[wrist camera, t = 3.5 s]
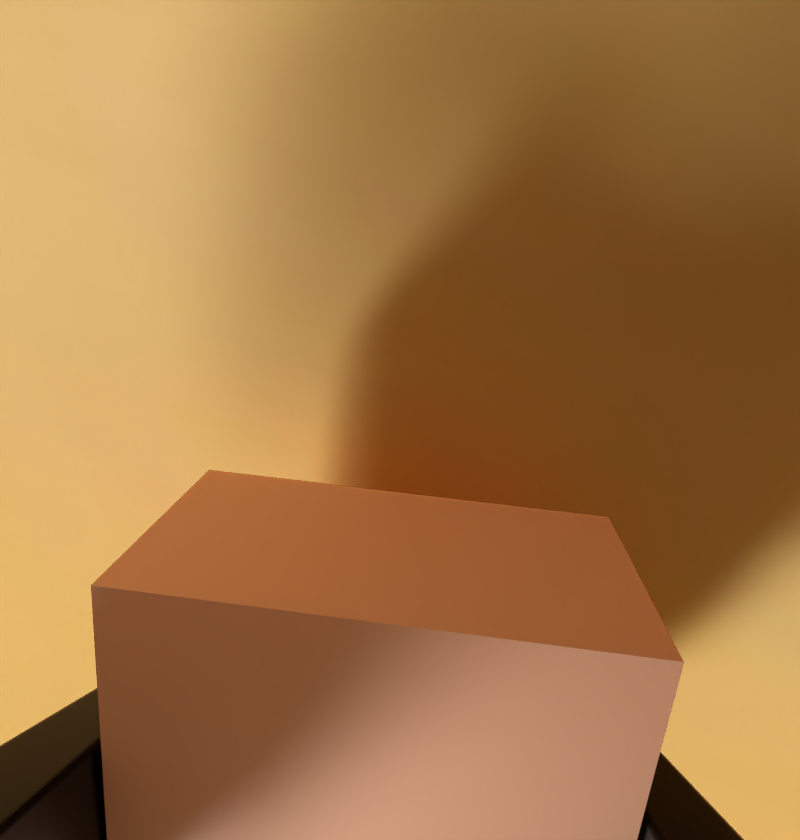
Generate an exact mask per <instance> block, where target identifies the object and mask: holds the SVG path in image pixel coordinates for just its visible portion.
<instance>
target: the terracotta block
mask: <svg viewBox="0 0 800 840" xmlns="http://www.w3.org/2000/svg"><path fill="white" fill-rule="evenodd" d="M91 593H92V609H93V625H94V641H95V657H96V673H97V689H98V705H99V721H100V737H101V753H102V769H103V785H104V801H105V817H106V833H107V840H637V839H638V835H639V831H640V827H641V823H642V819H643V816H644V812H645V808H646V804H647V800H648V797H649V793H650V789H651V785H652V781H653V777H654V774H655V770H656V766H657V762H658V758H659V755H660V751H661V747H662V743H663V739H664V735H665V732H666V728H667V724H668V720H669V716H670V713H671V709H672V705H673V701H674V697H675V694H676V690H677V686H678V682H679V678H680V674H681V671H682V667H683V663H684V662H683V660H682V658H681V656H680V654H679V652H678V650H677V648H676V646H675V644H674V642H673V640H672V638H671V637H670V635H669V633H668V631H667V629H666V627H665V625H664V623H663V621H662V619H661V617H660V615H659V613H658V611H657V609H656V608H655V606H654V604H653V602H652V600H651V598H650V596H649V594H648V592H647V590H646V588H645V586H644V584H643V582H642V580H641V579H640V577H639V575H638V573H637V571H636V569H635V567H634V565H633V563H632V561H631V559H630V557H629V555H628V553H627V551H626V549H625V548H624V546H623V544H622V542H621V540H620V538H619V536H618V534H617V532H616V530H615V528H614V526H613V524H612V522H611V520H610V519H609V517H605V516H597V515H588V514H580V513H571V512H563V511H554V510H546V509H537V508H529V507H520V506H512V505H503V504H495V503H486V502H478V501H469V500H461V499H452V498H444V497H435V496H427V495H418V494H410V493H401V492H392V491H384V490H375V489H367V488H358V487H350V486H341V485H333V484H324V483H316V482H307V481H299V480H290V479H282V478H273V477H265V476H256V475H248V474H239V473H231V472H222V471H214V470H209V471H208V472H206V473H205V474H204V475H203V476H202V477H201V478H200V479H199V480H198V481H197V482H196V483H195V484H194V485H193V486H192V487H191V488H190V489H189V490H188V491H187V492H186V493H185V494H184V495H183V496H182V497H181V498H180V499H179V500H178V501H177V502H176V503H175V504H174V505H173V506H172V507H171V508H170V509H169V510H168V511H167V512H166V513H165V514H164V515H162V516H161V517H160V518H159V519H158V520H157V521H156V522H155V523H154V524H153V525H152V526H151V527H150V528H149V529H148V530H147V531H146V532H145V533H144V534H143V535H142V536H141V537H140V538H139V539H138V540H137V541H136V542H135V543H134V544H133V545H132V546H131V547H130V548H129V549H128V550H127V551H126V552H125V553H124V554H123V555H122V556H121V557H120V558H118V559H117V560H116V561H115V562H114V563H113V564H112V565H111V566H110V567H109V568H108V569H107V570H106V571H105V572H104V573H103V574H102V575H101V576H100V577H99V578H98V579H97V580H96V581H95V582H94V583H93V584H92V585H91Z"/></svg>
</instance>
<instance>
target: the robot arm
mask: <svg viewBox="0 0 800 840" xmlns="http://www.w3.org/2000/svg"><path fill="white" fill-rule="evenodd" d="M0 840H107V833H106V817H105V801H104V785H103V769H102V753H101V737H100V721H99V705H98V689H97V688H96V689H95V690H93V691H91V692H90V693H88V694H86V695H85V696H83V697H81V698H80V699H78V700H76V701H75V702H73V703H71V704H69V705H68V706H66V707H64V708H63V709H61V710H59V711H58V712H56V713H54V714H53V715H51V716H49V717H48V718H46V719H44V720H43V721H41V722H39V723H38V724H36V725H34V726H33V727H31V728H29V729H28V730H26V731H24V732H23V733H21V734H19V735H17V736H16V737H14V738H12V739H11V740H9V741H7V742H6V743H4V744H2V745H1V746H0ZM637 840H744V839H743V838H742V837H741V836H740V835H739V834H738V833H737V832H736V831H735V830H734V829H733V828H732V827H731V826H730V825H729V824H728V822H727V821H726V820H725V819H724V818H723V817H722V816H721V815H720V814H719V813H718V812H717V811H716V810H715V809H714V808H713V807H712V806H711V805H710V804H709V802H708V801H707V800H706V799H705V798H704V797H703V796H702V795H701V794H700V793H699V792H698V791H697V790H696V789H695V788H694V787H693V786H692V785H691V784H690V782H689V781H688V780H687V779H686V778H685V777H684V776H683V775H682V774H681V773H680V772H679V771H678V770H677V769H676V768H675V767H674V766H673V765H672V764H671V762H670V761H669V760H668V759H667V758H666V757H665V756H664V755H663V754H662V753H661V752H660V755H659V758H658V762H657V766H656V770H655V774H654V777H653V781H652V785H651V789H650V793H649V797H648V800H647V804H646V808H645V812H644V816H643V819H642V823H641V827H640V831H639V835H638V839H637Z"/></svg>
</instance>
